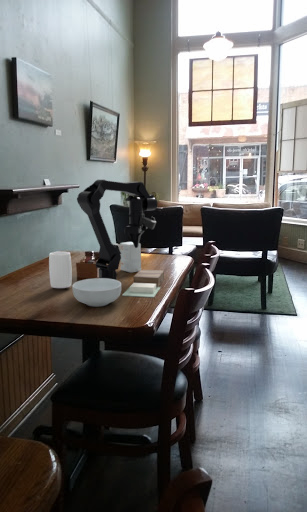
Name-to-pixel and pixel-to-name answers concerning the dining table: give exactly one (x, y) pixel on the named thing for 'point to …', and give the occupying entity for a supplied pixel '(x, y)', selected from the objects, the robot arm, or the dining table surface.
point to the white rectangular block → (143, 287)
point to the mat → (140, 293)
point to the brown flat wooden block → (149, 277)
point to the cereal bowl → (97, 291)
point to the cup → (60, 269)
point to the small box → (130, 257)
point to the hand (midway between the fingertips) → (136, 247)
